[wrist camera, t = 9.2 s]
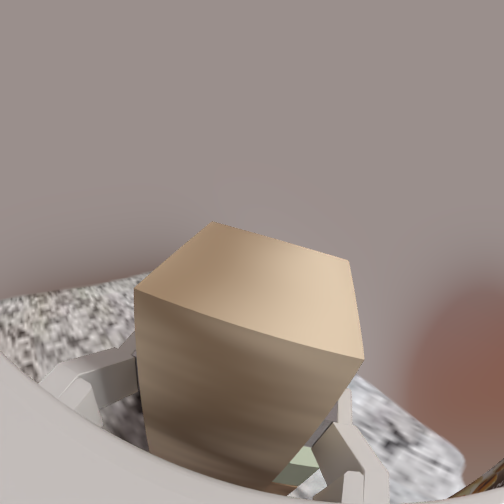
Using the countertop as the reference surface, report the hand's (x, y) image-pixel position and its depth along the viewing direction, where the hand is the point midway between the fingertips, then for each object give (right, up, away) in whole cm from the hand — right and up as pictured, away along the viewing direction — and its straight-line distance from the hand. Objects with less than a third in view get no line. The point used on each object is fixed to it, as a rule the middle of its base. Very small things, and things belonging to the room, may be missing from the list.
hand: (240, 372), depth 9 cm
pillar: (-1, -5, +2) cm, 6 cm away
